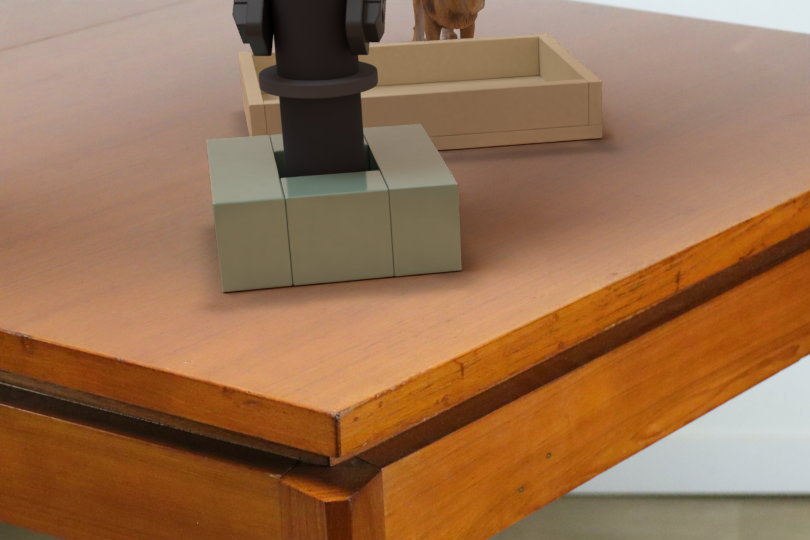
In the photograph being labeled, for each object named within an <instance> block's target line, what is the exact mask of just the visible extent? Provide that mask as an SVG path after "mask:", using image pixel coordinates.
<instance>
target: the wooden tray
mask: <svg viewBox="0 0 810 540" xmlns="http://www.w3.org/2000/svg"><path fill="white" fill-rule="evenodd" d="M237 58H238V69H239V79H240V87H241V96H242V97H241V98H242V106H243V111H244V116H245V121H246V126H247V131H248V136H261V135H269V136H270V135H275V134H282V125H281V114H280V102H279V96H275V95H271V94H268V93H265V92H263V91H262V90H261V89H260V86H259V73H260V72H261V71H262V70H263V69H265V68H268V67H270V66H273V65H276V57H275V49H272V55H271V56H254V55H253V52H252V51H239V52H237ZM358 59H359V61H361V62H365V63H368V64H371V65H373V66H375V67H376V68H377V71H378V84H377V85H376V86H375V87H374V88H372V89H370V90H367V91H364V92H361V104H362V120H363V128H370V127H383V126H397V125H411V124H422V125H423V127H424V129H425V130H426V132H427V134H428V135H429V137H430V139H431V140H432V142H433V144H434V145H435V147H436V149H437V150H438V151H449V150H461V149H475V148H489V147H503V146H513V145H514V146H515V145H527V144H528V145H529V144H540V143H541V144H542V143H553V142H567V141H580V140H591V139H592V140H593V139H602V138H603V81H602V80H601V79H600V78H599V77H598V75H597V76H596V74H594V73H593V72H592V71H591V70H590V69H589V68H588V67H587V66H585V65H584V64H583V63H582V62H581V61H580V60H578V59H577V58H576V57H575V56H574V55H573V54H571V52H570V51H568V50H567V49H566V48H565V47H563V45H561V44H560V42H558V41H557V40H556V39H554V37H552V36H551V35H550V34H549V33H537V34H519V35H518V34H517V35H504V36H489V37H487V36H486V37H473V38H468V39H460V38H458V39H451V40H442V39H440V40H434V41H426V40H424V41H418V42H412V41H404V42H386V43H369V54H368V55H358Z"/></svg>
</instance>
